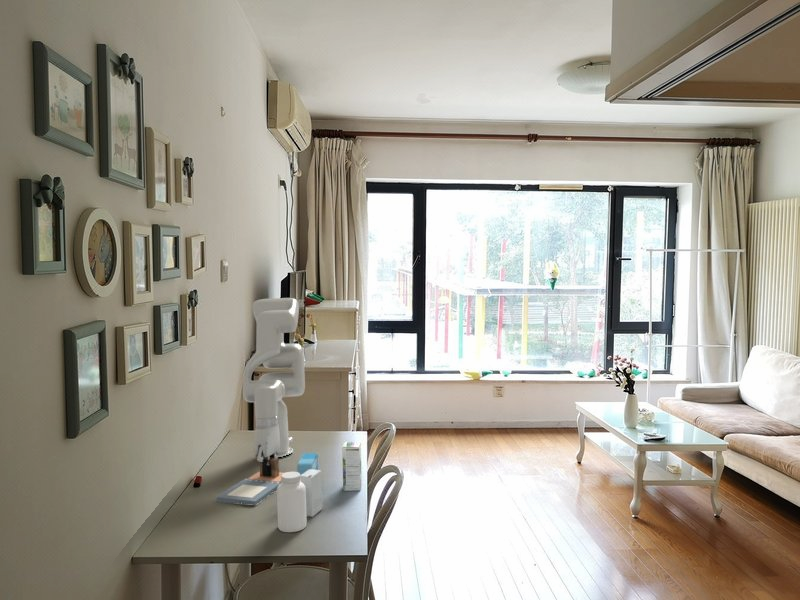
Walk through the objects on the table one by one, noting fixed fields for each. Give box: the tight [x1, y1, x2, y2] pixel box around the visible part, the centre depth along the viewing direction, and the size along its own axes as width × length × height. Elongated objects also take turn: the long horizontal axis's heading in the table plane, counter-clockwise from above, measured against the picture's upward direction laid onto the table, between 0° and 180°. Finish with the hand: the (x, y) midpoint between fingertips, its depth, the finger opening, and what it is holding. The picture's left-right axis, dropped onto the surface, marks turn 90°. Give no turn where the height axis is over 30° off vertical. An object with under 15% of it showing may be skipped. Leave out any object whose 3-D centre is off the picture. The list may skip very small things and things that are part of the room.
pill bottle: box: [276, 471, 307, 533], centre depth 169 cm, size 8×8×15 cm
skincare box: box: [300, 469, 323, 518], centre depth 178 cm, size 6×4×12 cm
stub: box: [247, 458, 285, 482], centre depth 206 cm, size 8×12×8 cm, turn 72°
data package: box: [296, 452, 319, 475], centre depth 192 cm, size 12×4×12 cm, turn 179°
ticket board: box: [215, 478, 281, 505], centre depth 194 cm, size 16×14×2 cm
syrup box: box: [341, 441, 363, 492], centre depth 197 cm, size 6×6×14 cm
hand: (269, 474), depth 206 cm, fingers closed on stub, 2 cm apart
